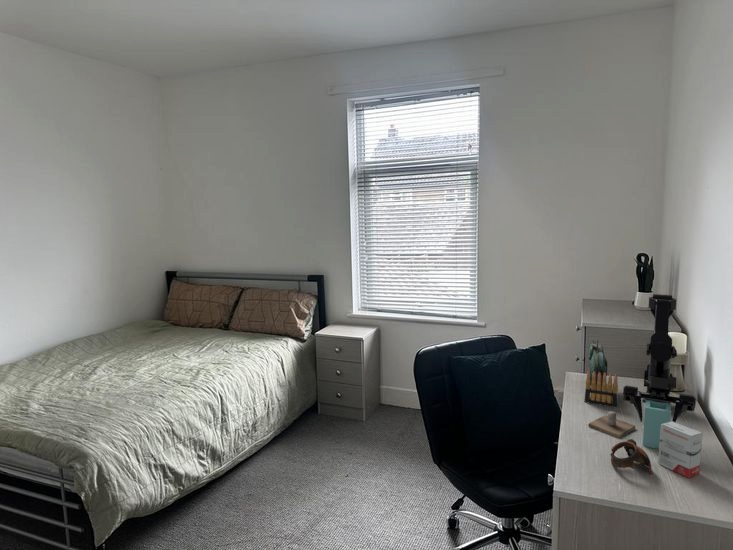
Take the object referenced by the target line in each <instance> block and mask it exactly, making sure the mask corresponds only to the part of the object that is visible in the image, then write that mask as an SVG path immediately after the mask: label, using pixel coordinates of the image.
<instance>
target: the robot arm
mask: <svg viewBox="0 0 733 550" xmlns="http://www.w3.org/2000/svg"><path fill="white" fill-rule="evenodd" d="M648 309H650V313H651V315H652V316H653V318H654V327H653V328H654V329H653V334H651V336H650V337H649V343H648V342H647V343H646V356H648V357H649V363H648V364H647V366H646V369H644V374H643V375H644V378H643V387H646V391H640V390H639V387H638V386H633V385H624V386H623V389H622V390H623V391H622V392H623V393H622V395H623V396H622V397H623V398H622V399H623V400H624V401H627V402H629V403H630V405H633V406H634V408H635V410H636V412H637V416H638V419H639V421H640V423H643V409H642V408H643V407H642V402H644V403H645V400H650V401H656V402H662V403H669V404H674V411H673V415H672V420H671V421H673V422H675V423H677V422H678V419H679V418H680V416H681V415H682V414H683V413H684V414H685V413H687V412H694V411H695V410H696V409H695V408H696V401H697V399H696V397H695V396H694V394H693V395H691V394H685V393H679V397H678V396H671V395H670V394H671V391H672V390H673V389H677V376H676V377H675V376H673V373H671V366H672V359H675V358H676V357H678V352H677V349H676V347H675V346H674V345H673V338H672V337H671V336H670V335H669V327H670V326H669V320H670V318H671V316H672V315H673V313H674V311H676V310H677V298H673V295H672V294H660V293H659V294H657V293H653V294H652V296H648Z"/></svg>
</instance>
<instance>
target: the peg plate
mask: <svg viewBox="0 0 733 550" xmlns="http://www.w3.org/2000/svg"><path fill="white" fill-rule="evenodd" d="M587 425H588V426H589V428H591V429H594V430H597V431H600V432H602V433H604V434H607V435H610V436H613V437H614V438H618V439H620V438H622V437H623V436H625V435H627V434H629V433H630V432H632V431H634V430H636V425H635V424H631V423H628V422H625V421H623V420H620V419H617V412H615V411H611V410H610V411H608V412H607V415H605V414H604V415H602V416H600V417H599V418H596V419H595V420H593V421H590V422H589V423H588V424H587Z"/></svg>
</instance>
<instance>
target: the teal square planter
mask: <svg viewBox="0 0 733 550" xmlns="http://www.w3.org/2000/svg"><path fill="white" fill-rule="evenodd" d="M671 404H672V403H670V404H669V403H662V402H656V401H650V400H645V402H644V419H643V436H642V446H643V447H647V448H653V449H656V450H659V445H660V430H661V424H664V423H667V422H671V416H672V407H671V406H672V405H671Z"/></svg>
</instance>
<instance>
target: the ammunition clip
mask: <svg viewBox="0 0 733 550" xmlns="http://www.w3.org/2000/svg"><path fill="white" fill-rule="evenodd" d="M607 377H608V380H607ZM607 377H606V373H604V375H603V382H602V383H601V373H600V372H599V373H598V378H597V386H596V374H595V371H594V372H593V374H592V381H590V369H588V370H587V372H586V379H585V388H584V389H585V390H584V391H585V392H584V403H587V402H589V403H588V404H593V403H594V404H593V405H599V404H601V405H600V406H605V405H606V406H605V407H611V408H618V405H619V404H618V396H619V395H618V392H619V391H618V390H619V384H618V383H619V382H618V381H619V380H618V375H617V374H616V373H615V374H614V376H612V373H611V372H610V373H609V375H608V376H607ZM601 387H602V390H601Z"/></svg>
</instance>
